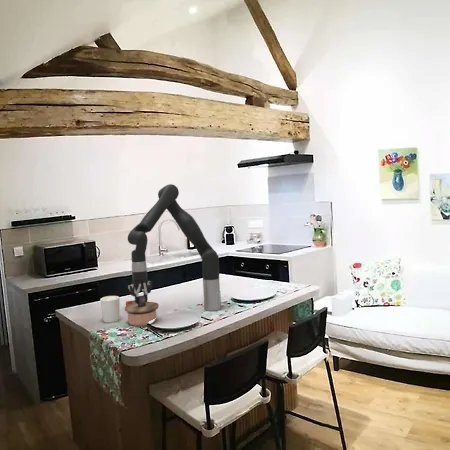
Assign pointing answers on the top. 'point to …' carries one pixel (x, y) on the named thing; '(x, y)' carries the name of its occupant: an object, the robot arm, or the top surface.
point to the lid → (141, 306)
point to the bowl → (141, 318)
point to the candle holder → (110, 308)
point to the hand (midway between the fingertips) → (141, 302)
